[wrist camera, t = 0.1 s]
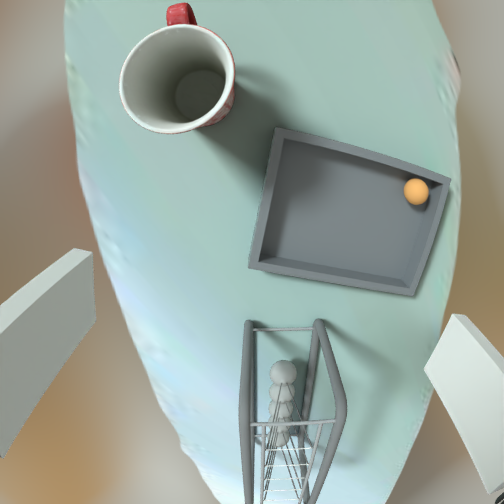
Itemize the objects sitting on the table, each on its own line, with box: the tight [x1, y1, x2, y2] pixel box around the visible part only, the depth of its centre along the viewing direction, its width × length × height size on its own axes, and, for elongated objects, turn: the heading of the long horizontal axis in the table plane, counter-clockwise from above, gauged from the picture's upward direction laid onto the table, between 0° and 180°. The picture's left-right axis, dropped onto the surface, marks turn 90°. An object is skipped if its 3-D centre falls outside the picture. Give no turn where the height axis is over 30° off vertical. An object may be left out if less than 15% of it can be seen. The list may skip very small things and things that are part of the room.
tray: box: [248, 127, 451, 296], centre depth 35 cm, size 16×22×3 cm
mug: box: [119, 3, 235, 134], centre depth 25 cm, size 13×9×14 cm
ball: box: [404, 178, 429, 205], centre depth 33 cm, size 3×3×3 cm
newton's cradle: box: [239, 319, 347, 504], centre depth 39 cm, size 30×10×18 cm, turn 1°
